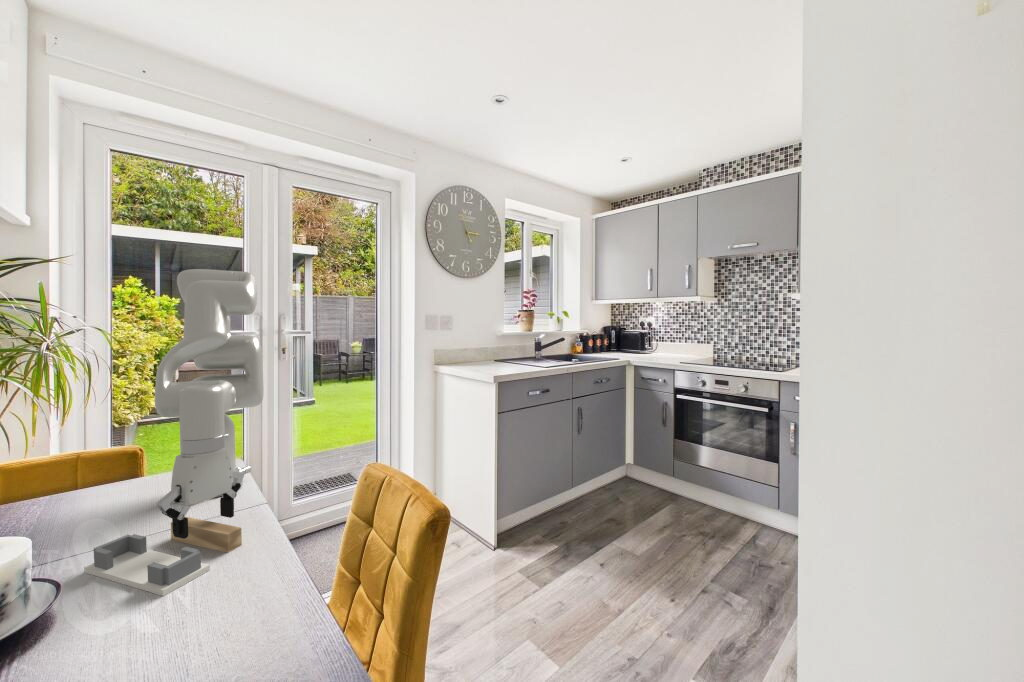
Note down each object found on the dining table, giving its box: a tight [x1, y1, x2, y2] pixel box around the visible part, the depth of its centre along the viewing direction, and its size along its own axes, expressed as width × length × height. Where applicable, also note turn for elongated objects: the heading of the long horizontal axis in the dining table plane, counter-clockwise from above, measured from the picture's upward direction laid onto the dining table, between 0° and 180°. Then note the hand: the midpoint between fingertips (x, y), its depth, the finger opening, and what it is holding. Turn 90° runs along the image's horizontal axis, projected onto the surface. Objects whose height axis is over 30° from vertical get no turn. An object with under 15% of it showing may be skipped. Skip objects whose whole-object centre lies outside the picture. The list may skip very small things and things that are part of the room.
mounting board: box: [83, 533, 211, 597], centre depth 80 cm, size 8×21×4 cm, turn 72°
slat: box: [170, 516, 243, 553], centre depth 90 cm, size 3×16×4 cm, turn 73°
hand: (205, 526), depth 89 cm, fingers open, 9 cm apart
